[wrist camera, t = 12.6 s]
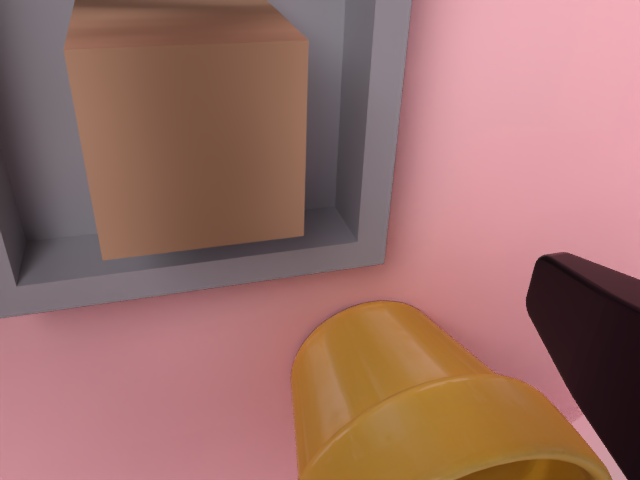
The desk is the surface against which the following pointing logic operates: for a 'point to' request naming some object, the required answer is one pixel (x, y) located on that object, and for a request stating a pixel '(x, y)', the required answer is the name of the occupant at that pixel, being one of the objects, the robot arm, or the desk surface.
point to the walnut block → (189, 122)
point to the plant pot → (421, 408)
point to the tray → (214, 262)
